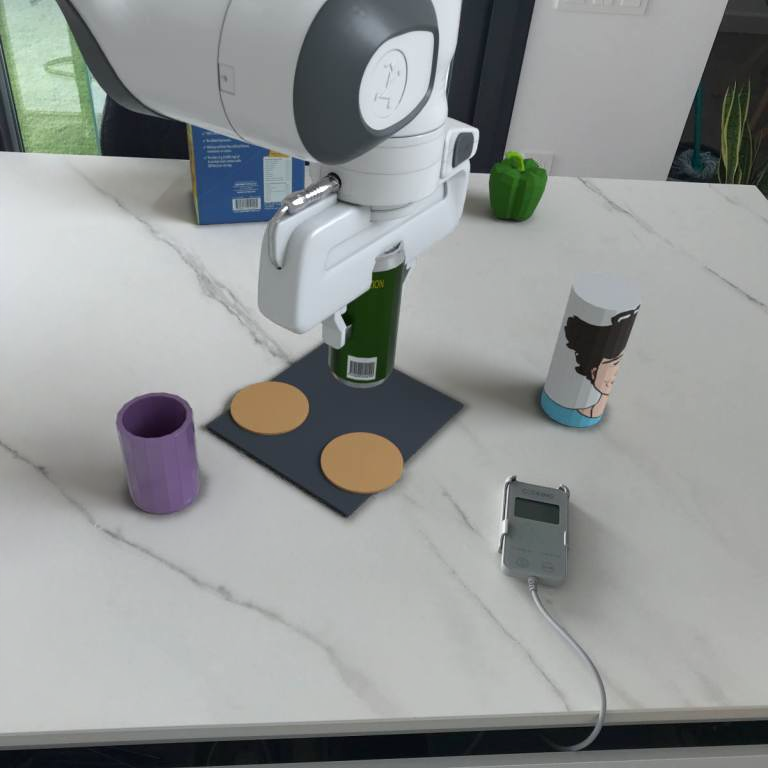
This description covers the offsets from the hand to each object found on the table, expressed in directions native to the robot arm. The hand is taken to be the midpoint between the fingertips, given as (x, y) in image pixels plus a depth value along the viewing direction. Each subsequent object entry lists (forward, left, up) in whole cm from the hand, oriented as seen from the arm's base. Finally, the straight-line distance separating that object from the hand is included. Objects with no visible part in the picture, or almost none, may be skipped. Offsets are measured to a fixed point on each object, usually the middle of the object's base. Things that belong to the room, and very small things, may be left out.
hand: (364, 322), depth 60 cm
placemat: (+7, +7, -19) cm, 22 cm away
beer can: (0, 0, -5) cm, 5 cm away
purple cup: (-11, +13, -19) cm, 26 cm away
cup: (+25, -11, -20) cm, 34 cm away
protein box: (+34, +46, -20) cm, 61 cm away
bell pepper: (+60, +16, -20) cm, 65 cm away
